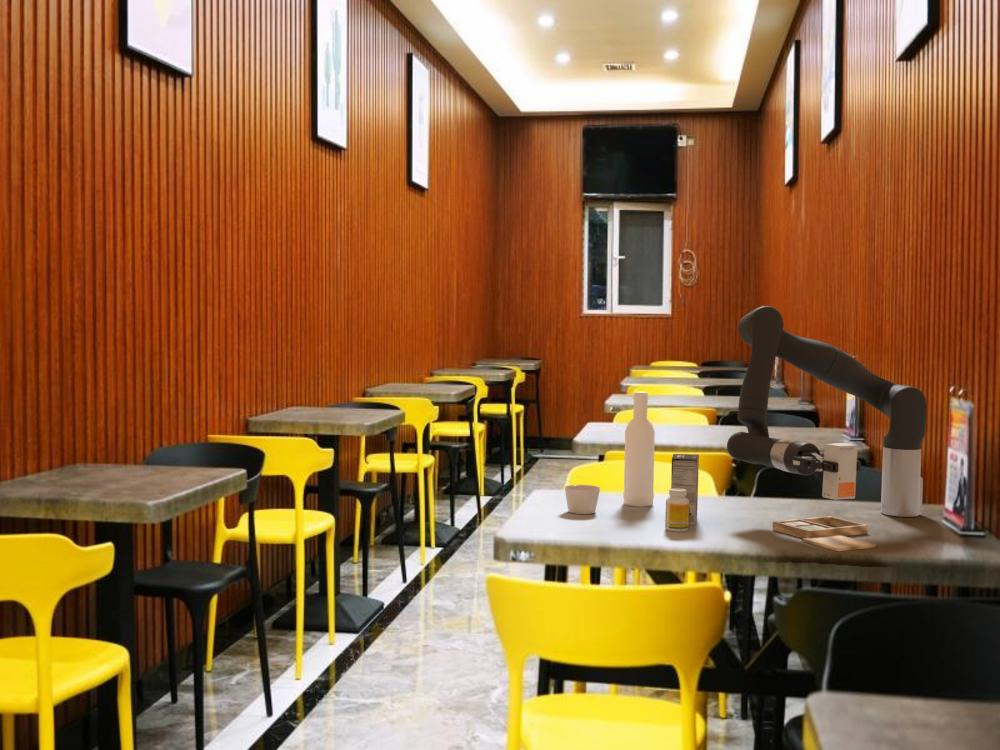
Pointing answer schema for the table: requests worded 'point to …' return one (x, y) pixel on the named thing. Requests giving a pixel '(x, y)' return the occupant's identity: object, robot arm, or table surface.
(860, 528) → the light wood flat frame
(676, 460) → the coffee box
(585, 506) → the beige cup
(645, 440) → the bottle
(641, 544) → the table surface
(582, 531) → the table surface
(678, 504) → the supplement bottle
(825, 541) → the coaster
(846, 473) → the skincare box
